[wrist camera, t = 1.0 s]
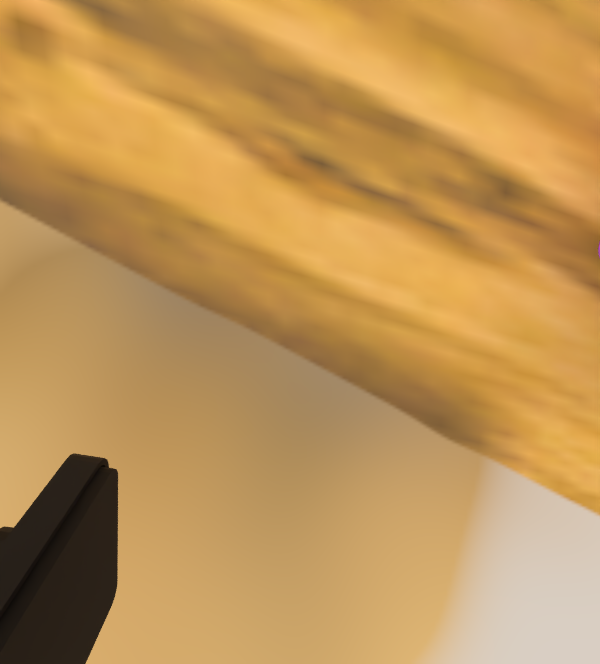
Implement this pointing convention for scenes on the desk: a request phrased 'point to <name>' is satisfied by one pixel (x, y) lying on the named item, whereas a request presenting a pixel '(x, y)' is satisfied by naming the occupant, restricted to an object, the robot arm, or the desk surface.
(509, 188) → the desk surface
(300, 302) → the desk surface
